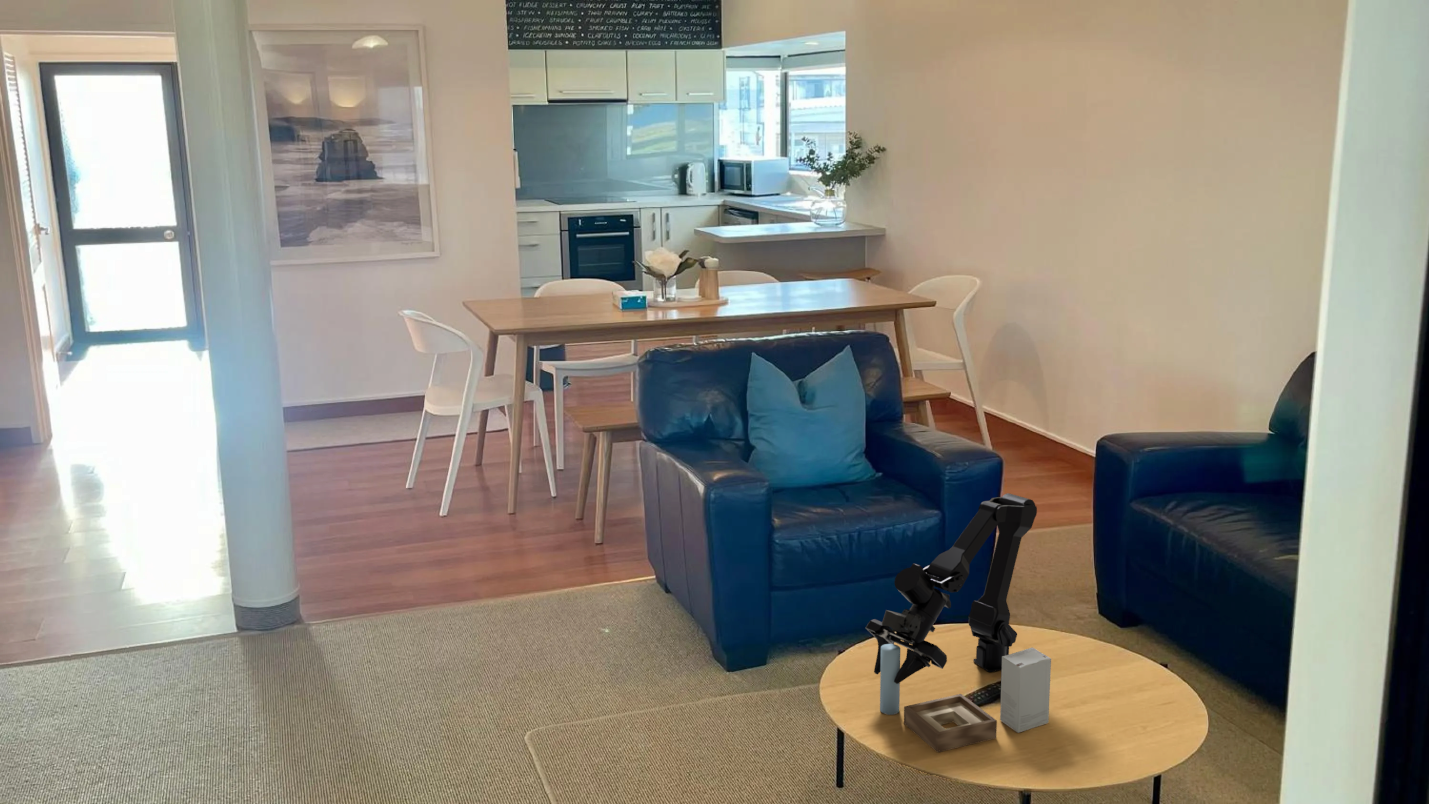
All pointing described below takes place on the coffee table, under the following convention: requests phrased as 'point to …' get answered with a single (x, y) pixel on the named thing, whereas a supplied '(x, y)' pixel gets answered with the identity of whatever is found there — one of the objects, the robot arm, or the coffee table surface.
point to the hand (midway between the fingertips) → (885, 678)
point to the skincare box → (1025, 689)
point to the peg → (889, 679)
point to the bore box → (945, 710)
